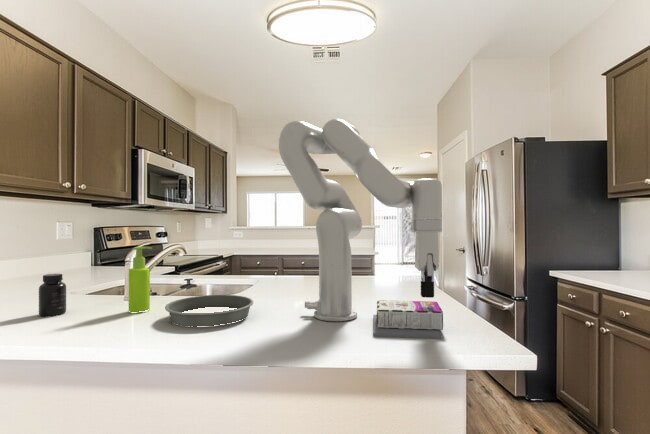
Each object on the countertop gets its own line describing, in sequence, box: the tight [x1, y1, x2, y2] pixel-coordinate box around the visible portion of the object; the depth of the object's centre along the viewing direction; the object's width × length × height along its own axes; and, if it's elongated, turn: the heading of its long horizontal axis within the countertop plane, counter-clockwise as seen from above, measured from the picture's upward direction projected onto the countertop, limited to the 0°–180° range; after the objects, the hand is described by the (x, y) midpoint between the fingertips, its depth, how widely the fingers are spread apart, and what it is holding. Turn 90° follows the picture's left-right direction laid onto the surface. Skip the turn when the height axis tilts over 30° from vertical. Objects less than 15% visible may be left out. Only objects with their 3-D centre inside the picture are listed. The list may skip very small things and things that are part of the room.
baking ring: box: [164, 294, 254, 328], centre depth 112 cm, size 25×25×4 cm
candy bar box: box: [376, 299, 444, 331], centre depth 101 cm, size 11×5×16 cm
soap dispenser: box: [128, 246, 153, 312], centre depth 120 cm, size 6×7×20 cm
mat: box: [372, 314, 443, 339], centre depth 101 cm, size 16×18×1 cm
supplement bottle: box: [38, 273, 67, 318], centre depth 116 cm, size 7×7×12 cm
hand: (427, 296), depth 100 cm, fingers closed
